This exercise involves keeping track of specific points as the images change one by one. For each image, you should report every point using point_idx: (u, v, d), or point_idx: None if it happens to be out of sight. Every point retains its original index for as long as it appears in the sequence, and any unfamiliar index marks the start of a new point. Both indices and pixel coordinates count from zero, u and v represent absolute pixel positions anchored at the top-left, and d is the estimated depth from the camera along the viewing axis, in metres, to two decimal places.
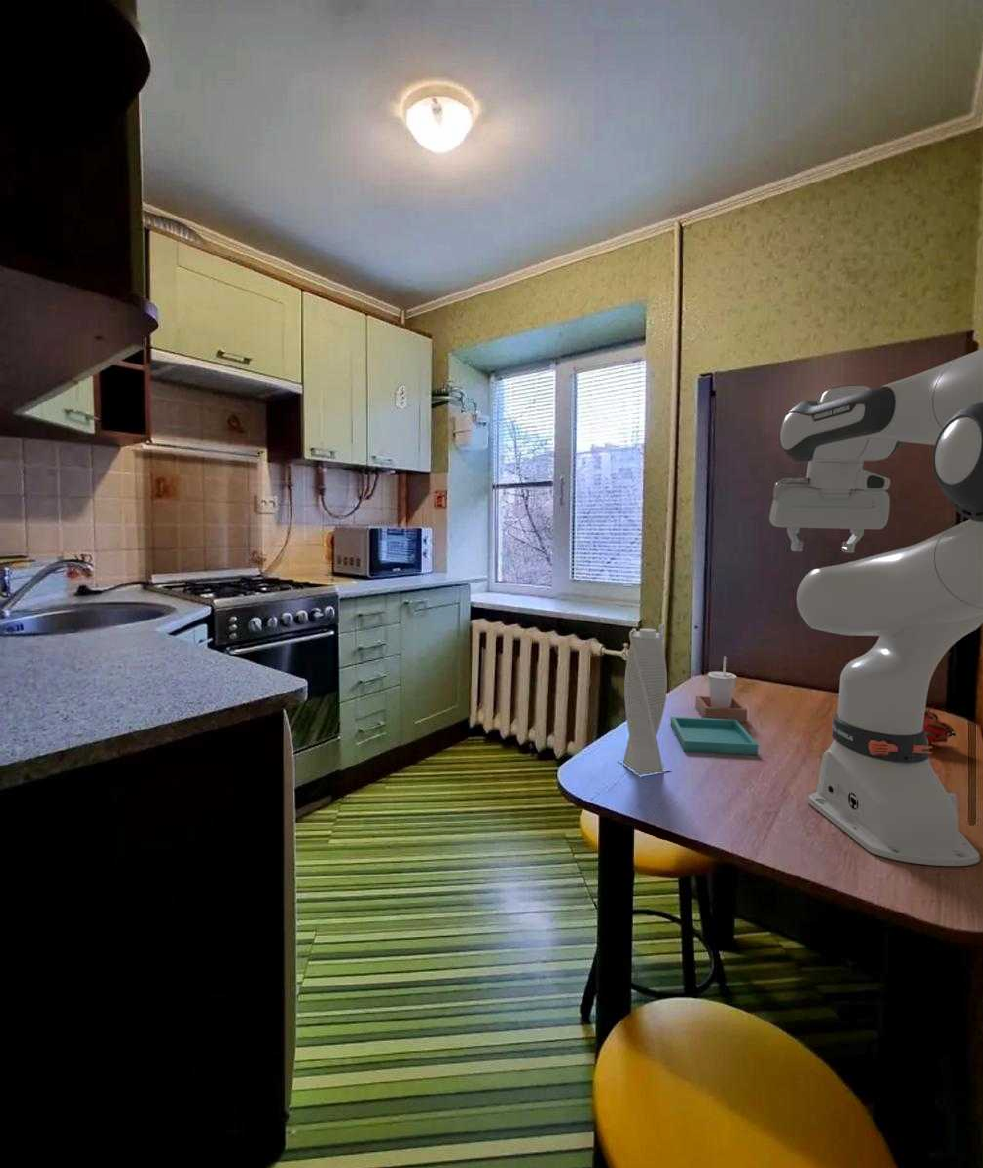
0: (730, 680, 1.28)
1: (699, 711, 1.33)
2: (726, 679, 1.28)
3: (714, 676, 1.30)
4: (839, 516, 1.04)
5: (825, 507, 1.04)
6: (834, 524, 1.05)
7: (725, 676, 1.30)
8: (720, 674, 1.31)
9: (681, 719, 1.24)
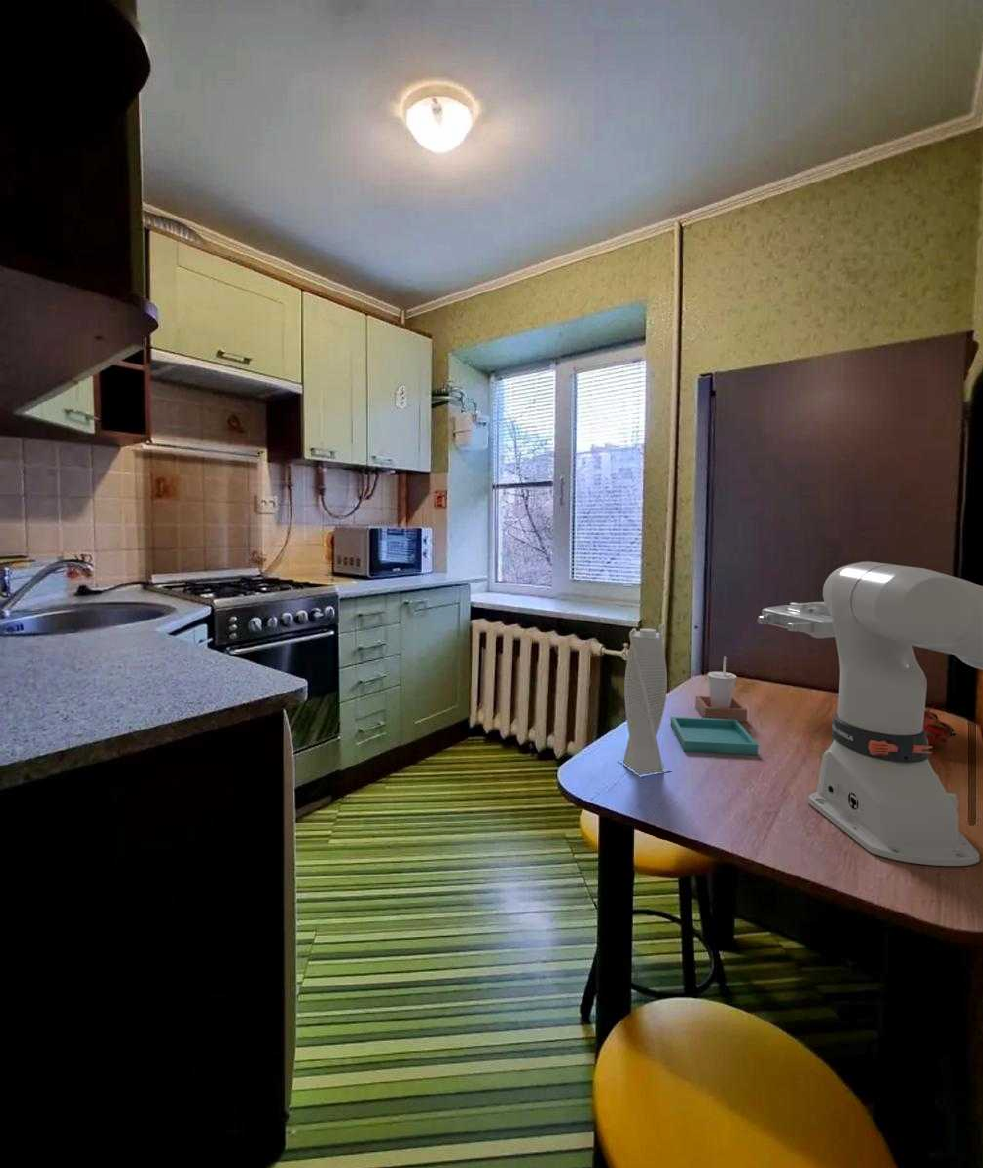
0: (730, 680, 1.28)
1: (699, 711, 1.33)
2: (726, 679, 1.28)
3: (714, 676, 1.30)
4: None
5: None
6: None
7: (725, 676, 1.30)
8: (720, 674, 1.31)
9: (681, 719, 1.24)
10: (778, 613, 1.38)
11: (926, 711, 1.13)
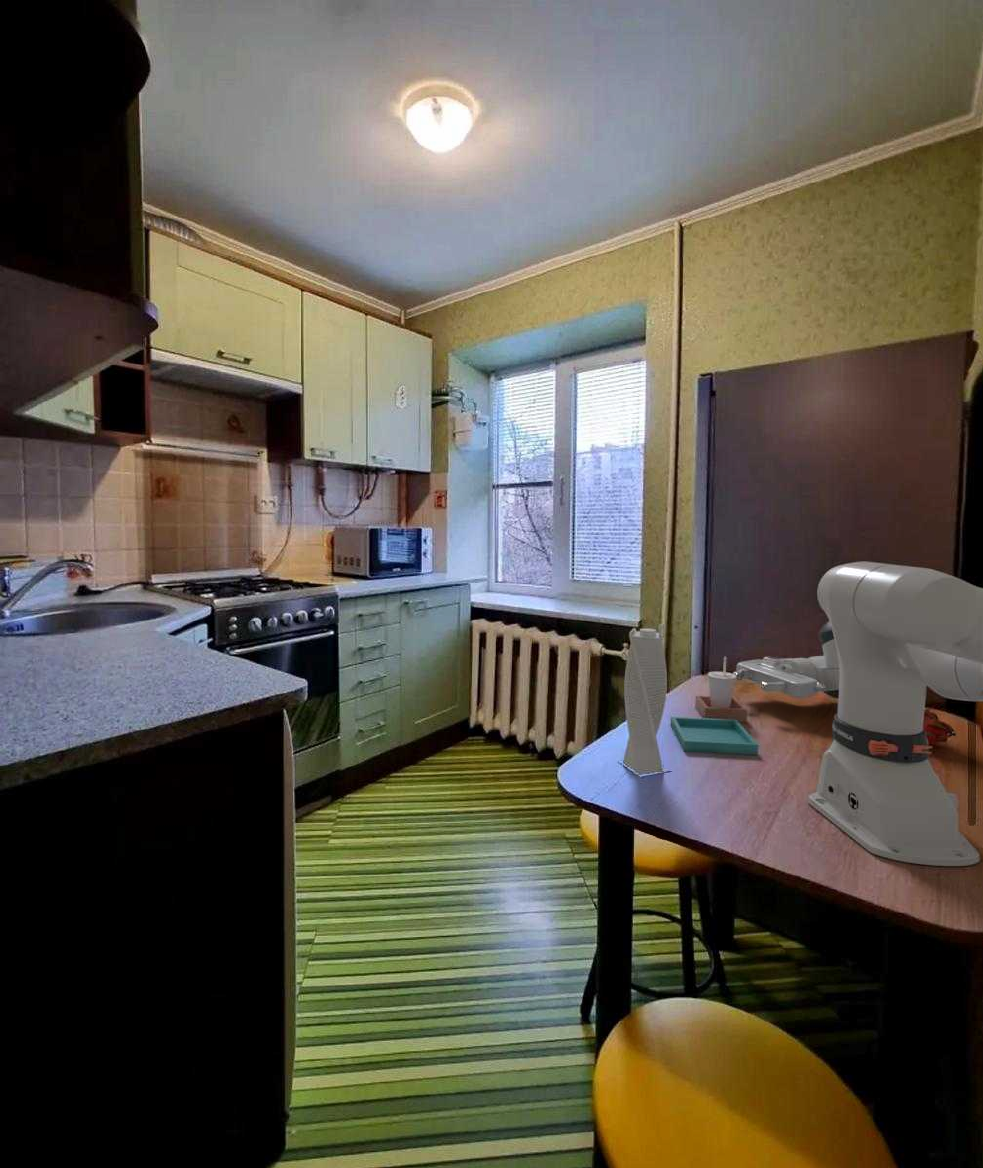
0: (730, 680, 1.28)
1: (699, 711, 1.33)
2: (726, 679, 1.28)
3: (714, 676, 1.30)
4: None
5: None
6: None
7: (725, 676, 1.30)
8: (720, 674, 1.31)
9: (681, 719, 1.24)
10: (752, 669, 1.39)
11: (926, 711, 1.13)
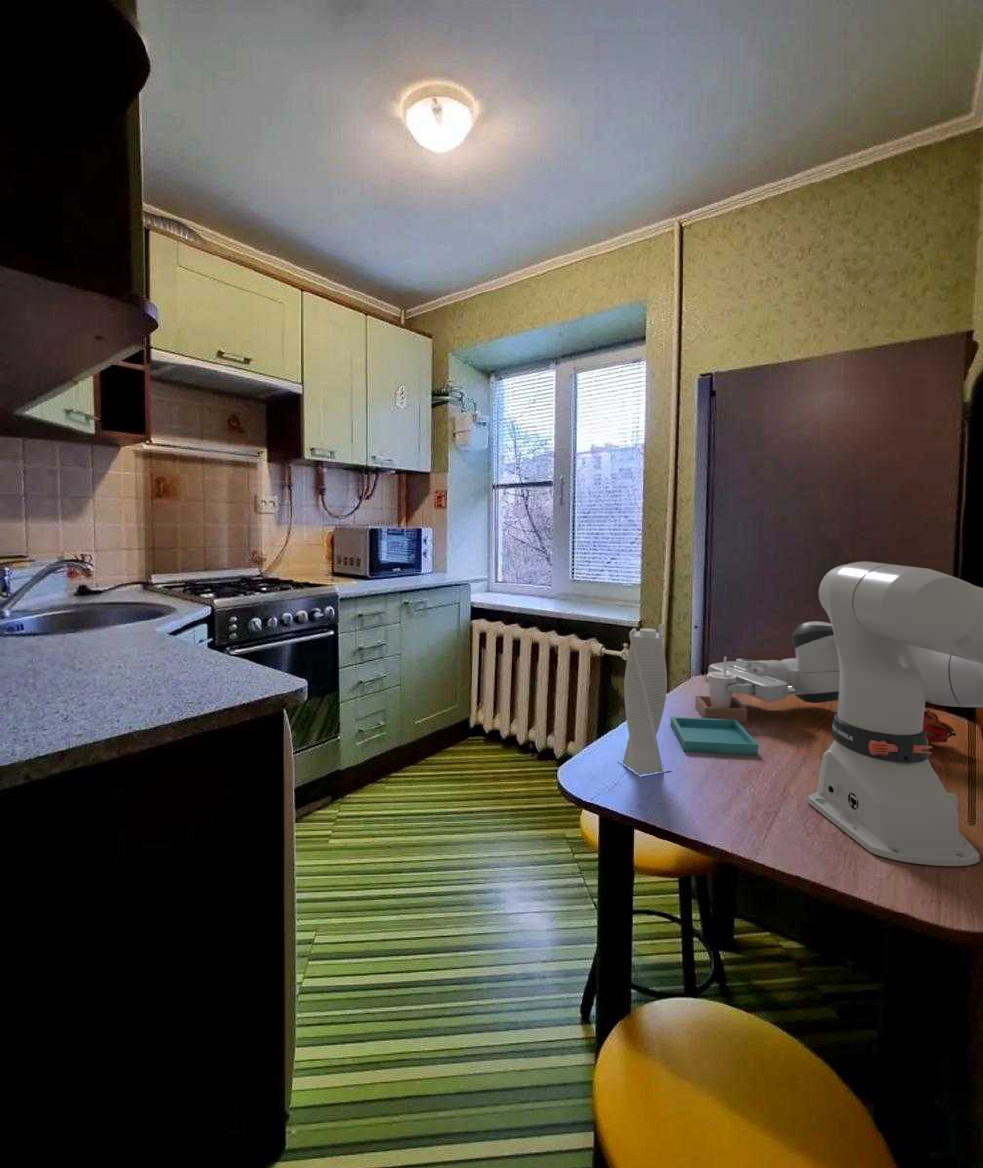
0: (730, 680, 1.28)
1: (699, 711, 1.33)
2: (726, 679, 1.28)
3: (714, 676, 1.30)
4: None
5: None
6: None
7: (725, 676, 1.30)
8: (720, 674, 1.31)
9: (681, 719, 1.24)
10: None
11: (926, 711, 1.13)
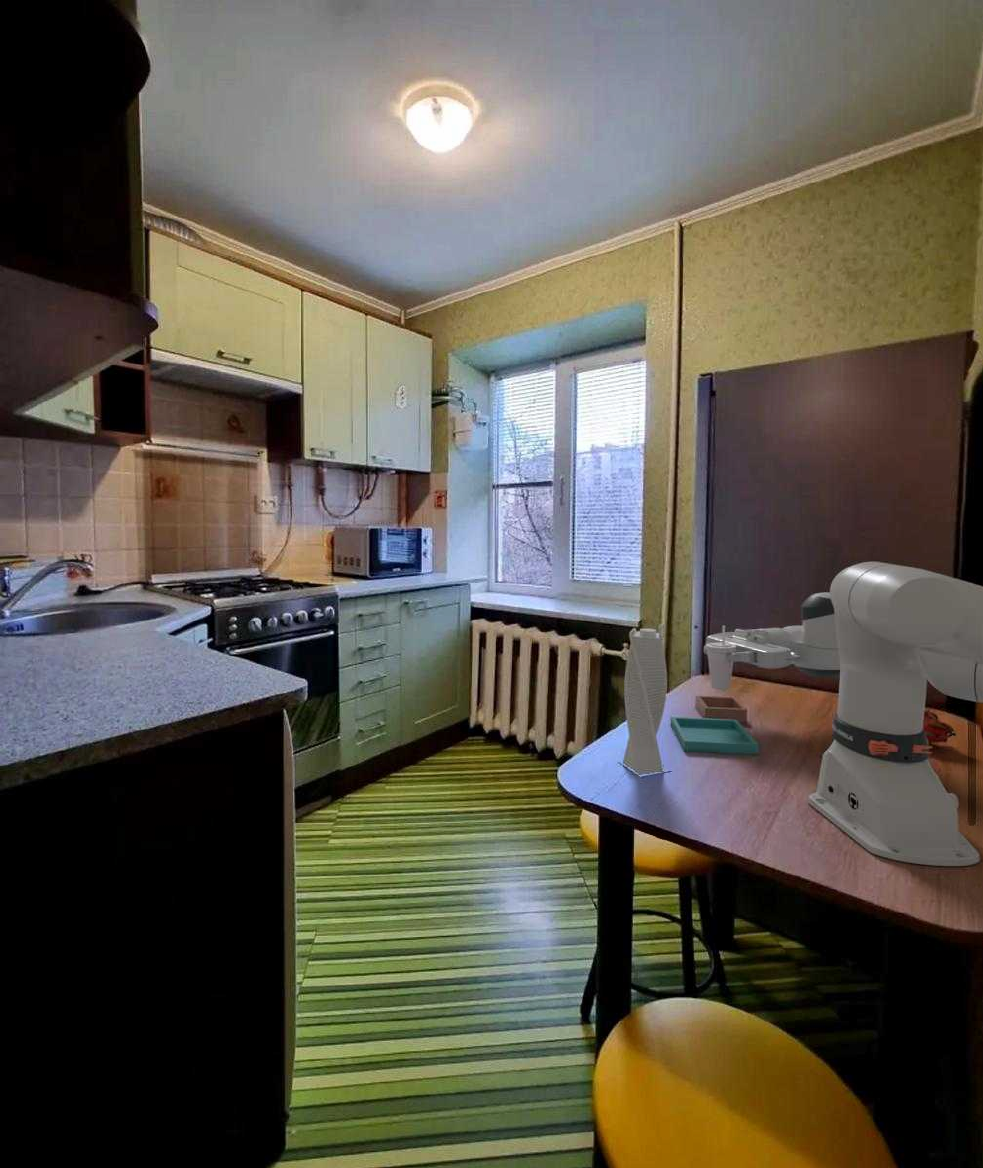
0: (730, 650, 1.21)
1: (699, 711, 1.33)
2: (726, 649, 1.21)
3: (713, 646, 1.23)
4: None
5: None
6: None
7: (724, 646, 1.23)
8: (719, 644, 1.24)
9: (681, 719, 1.24)
10: None
11: (926, 711, 1.13)
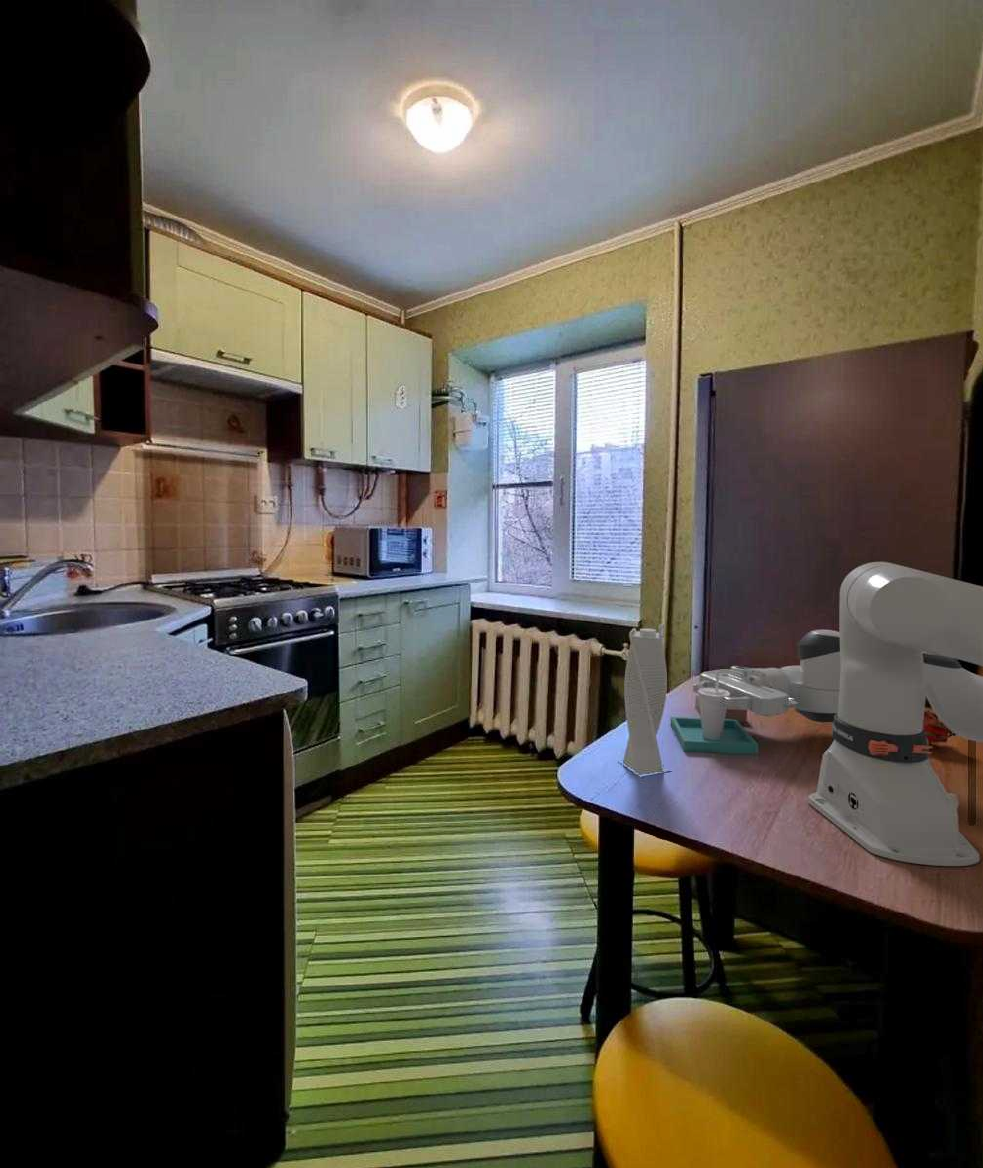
0: (723, 698, 1.13)
1: (699, 711, 1.33)
2: (719, 697, 1.13)
3: (705, 693, 1.15)
4: None
5: None
6: None
7: (718, 693, 1.15)
8: (712, 691, 1.16)
9: (681, 719, 1.24)
10: (715, 681, 1.21)
11: (926, 711, 1.13)
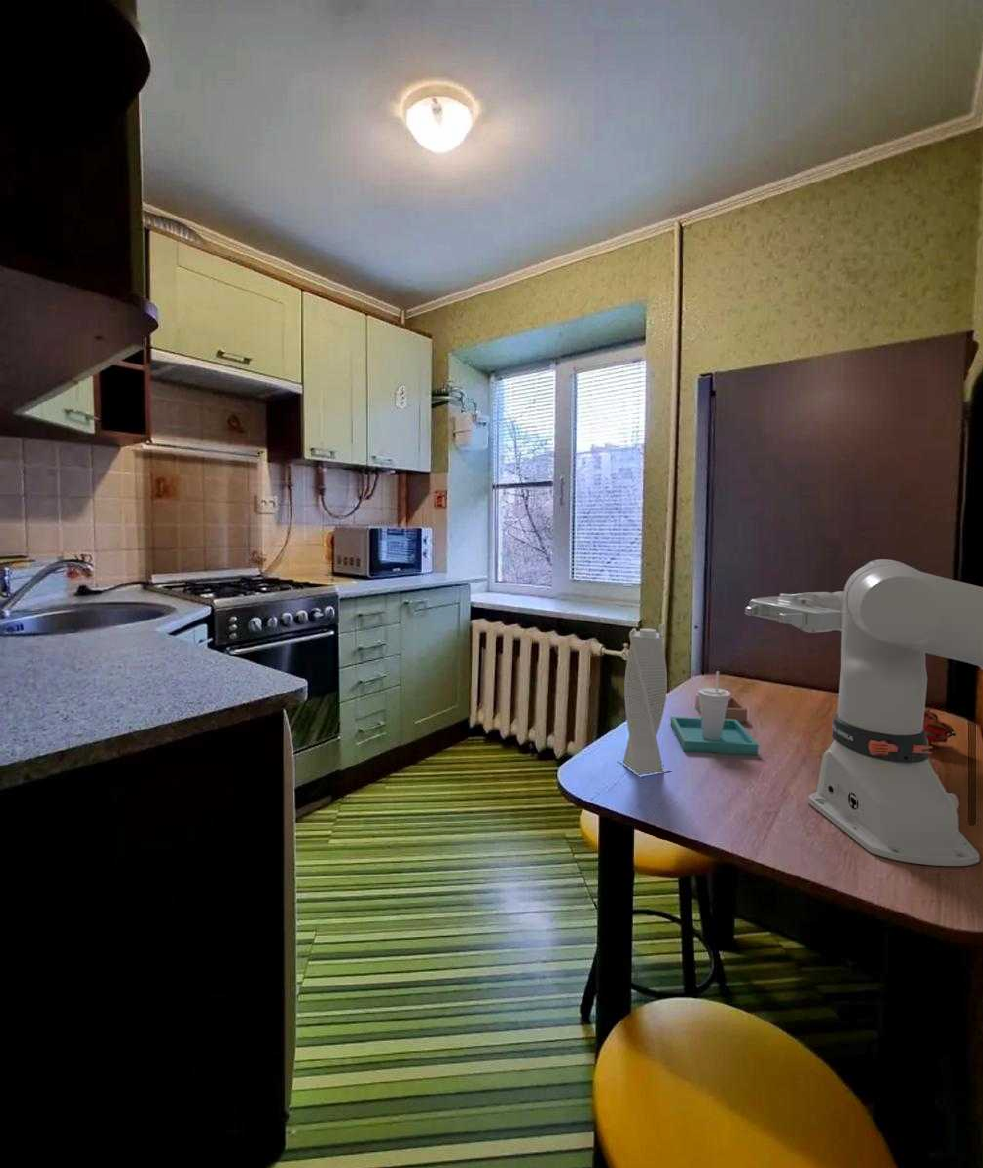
0: (723, 698, 1.13)
1: (699, 711, 1.33)
2: (719, 697, 1.13)
3: (705, 693, 1.15)
4: None
5: None
6: None
7: (718, 693, 1.15)
8: (712, 691, 1.16)
9: (681, 719, 1.24)
10: (767, 604, 1.24)
11: (926, 711, 1.13)
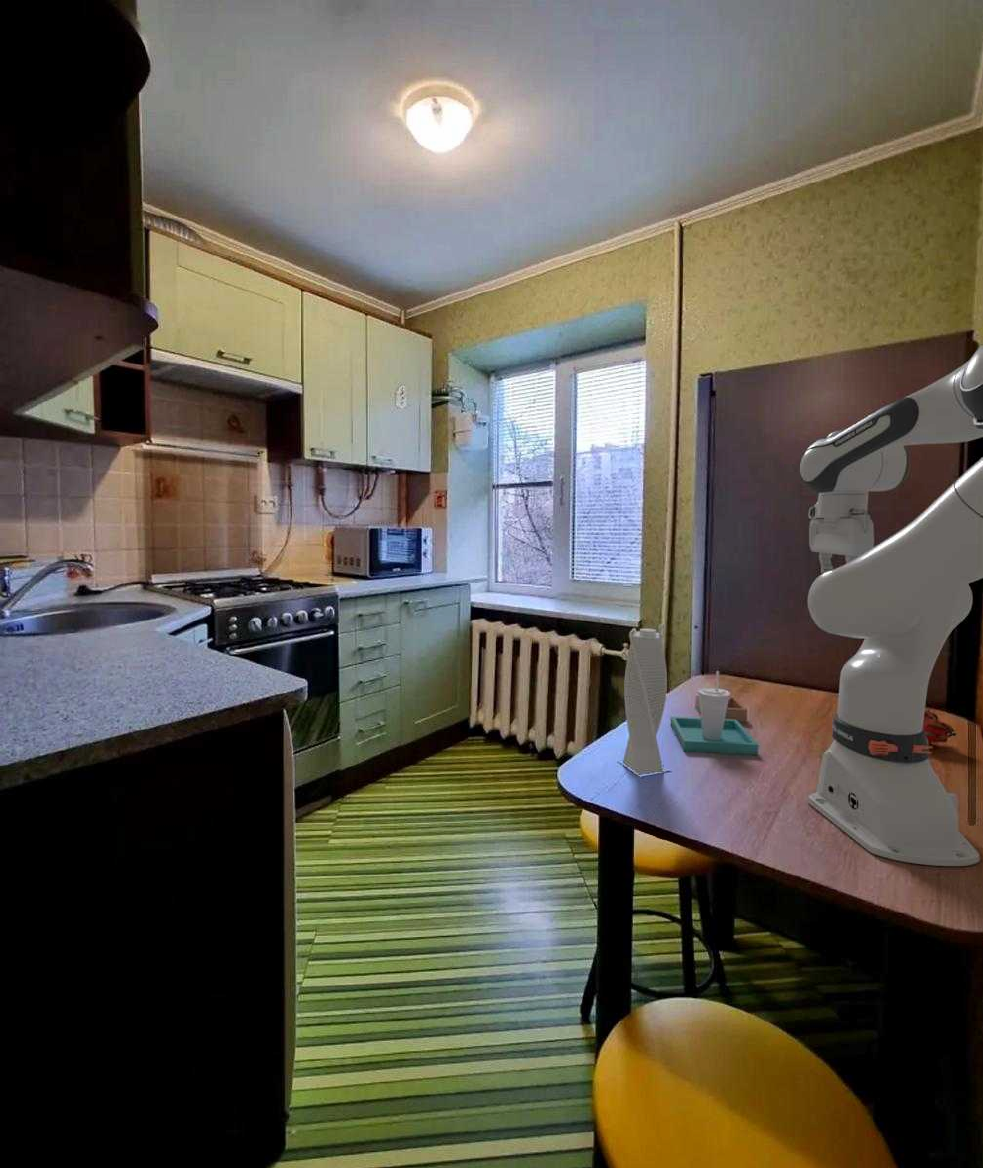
0: (723, 698, 1.13)
1: (699, 711, 1.33)
2: (719, 697, 1.13)
3: (705, 693, 1.15)
4: None
5: None
6: None
7: (718, 693, 1.15)
8: (712, 691, 1.16)
9: (681, 719, 1.24)
10: (822, 552, 1.22)
11: (926, 711, 1.13)
